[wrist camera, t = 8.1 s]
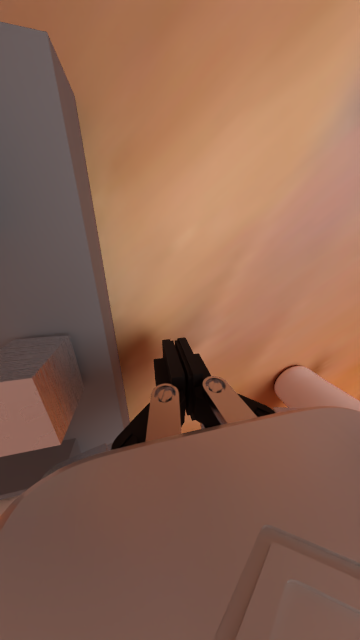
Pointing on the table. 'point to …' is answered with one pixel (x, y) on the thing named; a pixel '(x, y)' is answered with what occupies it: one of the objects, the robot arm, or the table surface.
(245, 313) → the table surface
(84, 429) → the panel
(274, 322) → the table surface
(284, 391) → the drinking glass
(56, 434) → the block
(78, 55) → the table surface
